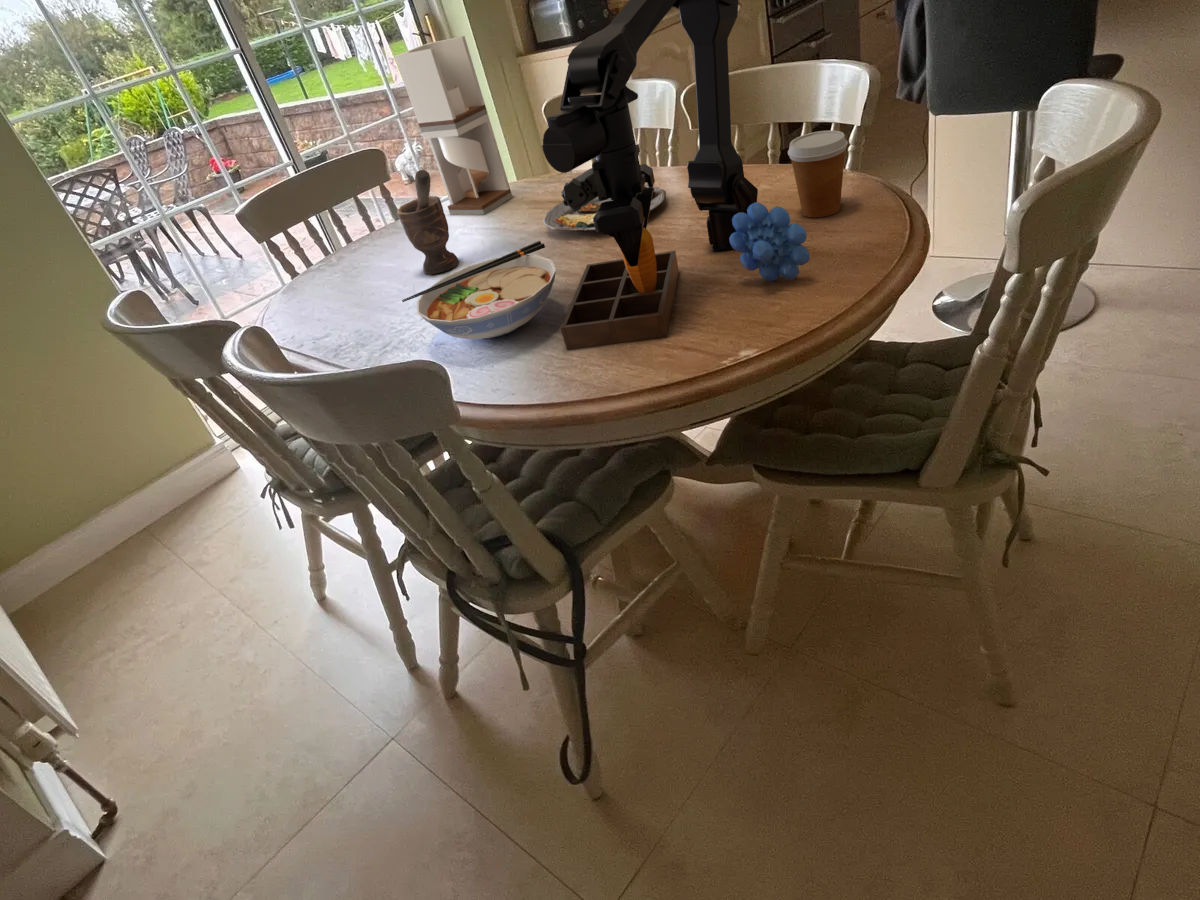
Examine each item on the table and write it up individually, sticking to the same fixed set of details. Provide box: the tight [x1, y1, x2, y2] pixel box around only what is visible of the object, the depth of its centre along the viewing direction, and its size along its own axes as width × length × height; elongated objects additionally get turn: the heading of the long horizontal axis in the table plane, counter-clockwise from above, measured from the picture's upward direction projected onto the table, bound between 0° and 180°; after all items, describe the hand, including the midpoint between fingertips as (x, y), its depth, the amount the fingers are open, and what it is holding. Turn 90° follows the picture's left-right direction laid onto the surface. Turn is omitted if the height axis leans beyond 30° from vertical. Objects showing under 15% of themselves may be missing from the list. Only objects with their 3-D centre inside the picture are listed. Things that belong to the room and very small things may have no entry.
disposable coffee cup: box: [787, 129, 849, 218], centre depth 125 cm, size 10×10×12 cm
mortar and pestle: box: [396, 169, 459, 276], centre depth 144 cm, size 12×9×20 cm
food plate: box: [543, 184, 667, 232], centre depth 151 cm, size 25×23×4 cm
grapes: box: [729, 202, 811, 282], centre depth 107 cm, size 12×7×12 cm, turn 62°
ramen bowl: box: [401, 240, 557, 340], centre depth 118 cm, size 25×23×8 cm
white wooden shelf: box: [394, 35, 513, 216], centre depth 169 cm, size 11×11×35 cm
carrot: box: [620, 228, 657, 293], centre depth 109 cm, size 5×5×15 cm
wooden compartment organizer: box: [560, 250, 680, 350], centre depth 114 cm, size 15×22×4 cm
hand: (637, 253), depth 110 cm, fingers open, 8 cm apart
